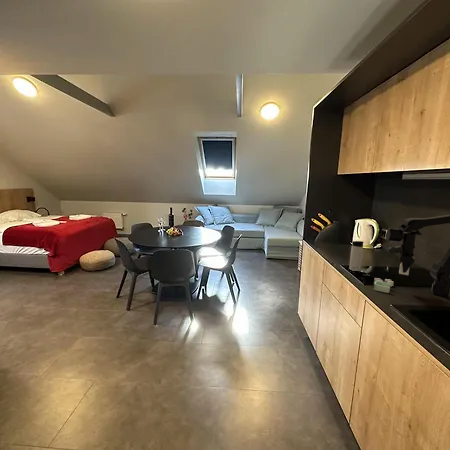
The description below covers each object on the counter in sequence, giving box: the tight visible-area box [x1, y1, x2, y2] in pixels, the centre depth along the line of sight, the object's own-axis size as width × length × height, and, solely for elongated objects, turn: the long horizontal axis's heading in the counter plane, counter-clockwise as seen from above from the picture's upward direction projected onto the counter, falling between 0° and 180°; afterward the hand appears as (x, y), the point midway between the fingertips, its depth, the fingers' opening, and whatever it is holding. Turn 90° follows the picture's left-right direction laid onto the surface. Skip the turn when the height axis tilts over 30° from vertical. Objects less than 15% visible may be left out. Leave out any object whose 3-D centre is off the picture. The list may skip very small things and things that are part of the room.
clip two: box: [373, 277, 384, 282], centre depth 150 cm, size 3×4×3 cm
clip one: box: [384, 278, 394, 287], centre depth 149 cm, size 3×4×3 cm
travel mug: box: [348, 240, 364, 272], centre depth 169 cm, size 6×7×20 cm
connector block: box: [398, 262, 411, 276], centre depth 141 cm, size 4×4×6 cm
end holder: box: [373, 281, 391, 294], centre depth 142 cm, size 7×7×3 cm
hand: (404, 271), depth 141 cm, fingers closed on connector block, 4 cm apart
